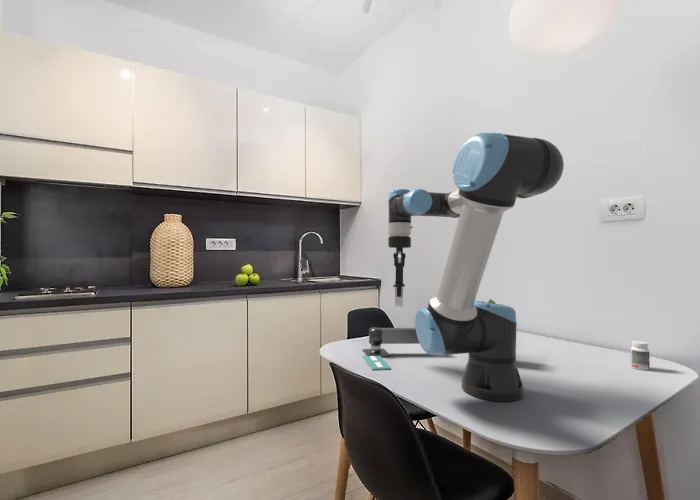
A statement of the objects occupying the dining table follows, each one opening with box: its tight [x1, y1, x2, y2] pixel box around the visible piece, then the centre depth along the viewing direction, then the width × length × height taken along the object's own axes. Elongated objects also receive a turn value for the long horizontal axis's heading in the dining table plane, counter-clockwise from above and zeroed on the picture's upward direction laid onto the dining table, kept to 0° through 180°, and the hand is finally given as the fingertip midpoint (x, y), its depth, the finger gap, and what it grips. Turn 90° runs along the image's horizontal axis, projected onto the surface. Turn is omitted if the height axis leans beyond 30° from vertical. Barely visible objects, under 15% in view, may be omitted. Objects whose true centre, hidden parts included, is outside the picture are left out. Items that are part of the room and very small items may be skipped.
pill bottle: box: [630, 340, 651, 371], centre depth 116 cm, size 5×5×8 cm
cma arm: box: [368, 326, 420, 345], centre depth 129 cm, size 24×5×5 cm, turn 94°
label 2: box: [366, 360, 392, 371], centre depth 114 cm, size 7×6×1 cm
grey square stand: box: [362, 344, 391, 358], centre depth 129 cm, size 8×8×4 cm
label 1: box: [362, 355, 385, 364], centre depth 121 cm, size 7×6×1 cm
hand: (398, 306), depth 121 cm, fingers closed
